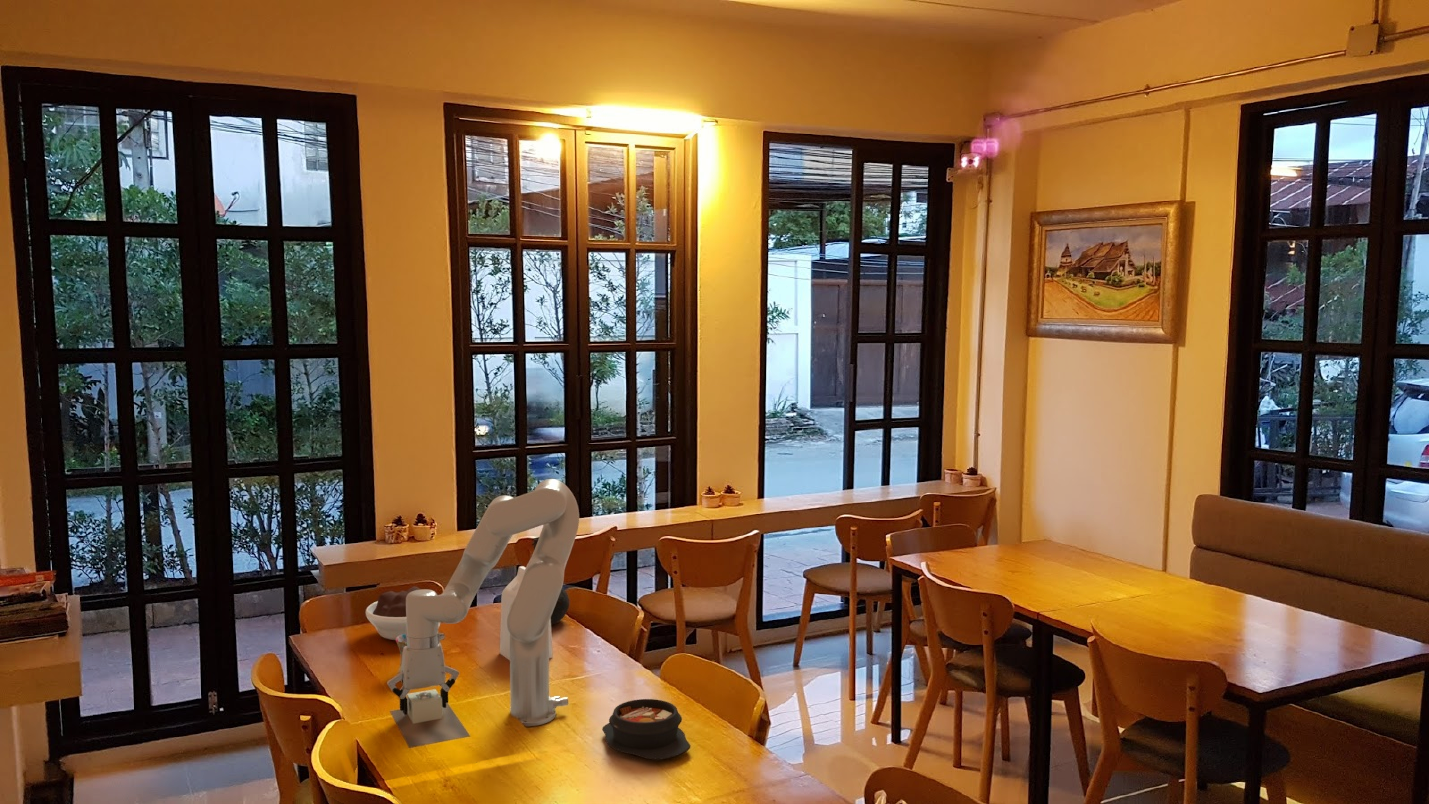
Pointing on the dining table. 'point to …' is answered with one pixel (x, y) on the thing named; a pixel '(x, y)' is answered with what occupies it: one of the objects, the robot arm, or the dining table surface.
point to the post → (423, 695)
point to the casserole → (646, 729)
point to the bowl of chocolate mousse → (390, 614)
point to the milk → (506, 601)
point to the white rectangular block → (424, 706)
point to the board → (430, 728)
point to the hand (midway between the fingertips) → (424, 709)
